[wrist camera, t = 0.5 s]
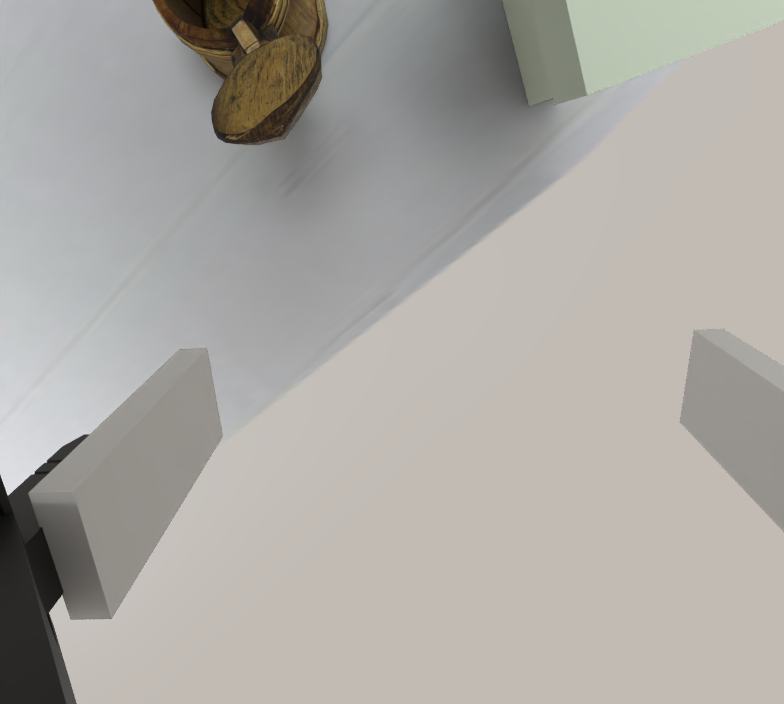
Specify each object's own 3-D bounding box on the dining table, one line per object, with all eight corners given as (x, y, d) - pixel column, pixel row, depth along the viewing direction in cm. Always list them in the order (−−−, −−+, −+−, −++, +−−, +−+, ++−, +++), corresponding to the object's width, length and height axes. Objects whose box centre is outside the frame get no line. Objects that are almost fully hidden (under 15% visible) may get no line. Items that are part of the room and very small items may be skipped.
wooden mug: (284, 177, 41) (197, 199, 24) (164, -3, 37) (-39, -128, 20) (387, 106, 39) (371, 75, 22) (272, -92, 35) (146, -311, 18)
